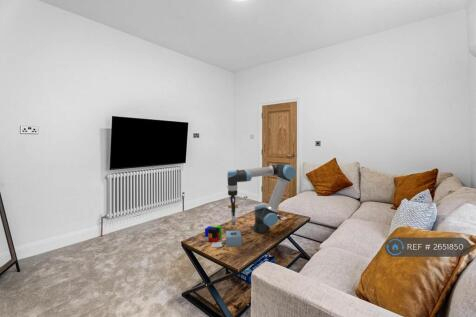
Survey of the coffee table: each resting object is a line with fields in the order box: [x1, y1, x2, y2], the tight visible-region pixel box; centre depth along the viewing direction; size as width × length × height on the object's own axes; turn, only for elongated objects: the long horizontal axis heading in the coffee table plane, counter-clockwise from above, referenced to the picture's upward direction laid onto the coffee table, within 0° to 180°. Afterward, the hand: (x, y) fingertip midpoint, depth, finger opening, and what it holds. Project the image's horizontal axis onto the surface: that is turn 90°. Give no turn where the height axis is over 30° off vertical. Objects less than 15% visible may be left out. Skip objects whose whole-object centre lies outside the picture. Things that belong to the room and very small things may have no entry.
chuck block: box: [221, 229, 243, 247], centre depth 178 cm, size 16×12×8 cm
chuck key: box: [227, 204, 239, 226], centre depth 177 cm, size 3×8×16 cm, turn 95°
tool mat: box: [211, 241, 223, 249], centre depth 175 cm, size 8×8×1 cm
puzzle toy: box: [204, 224, 223, 243], centre depth 185 cm, size 10×10×10 cm
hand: (233, 218), depth 177 cm, fingers closed on chuck key, 3 cm apart
